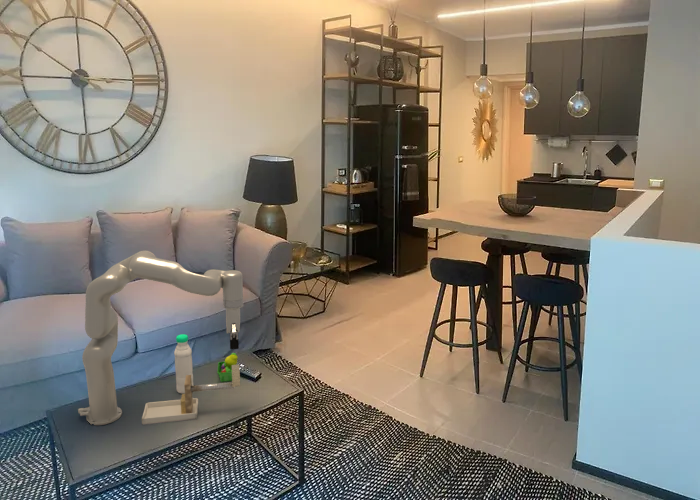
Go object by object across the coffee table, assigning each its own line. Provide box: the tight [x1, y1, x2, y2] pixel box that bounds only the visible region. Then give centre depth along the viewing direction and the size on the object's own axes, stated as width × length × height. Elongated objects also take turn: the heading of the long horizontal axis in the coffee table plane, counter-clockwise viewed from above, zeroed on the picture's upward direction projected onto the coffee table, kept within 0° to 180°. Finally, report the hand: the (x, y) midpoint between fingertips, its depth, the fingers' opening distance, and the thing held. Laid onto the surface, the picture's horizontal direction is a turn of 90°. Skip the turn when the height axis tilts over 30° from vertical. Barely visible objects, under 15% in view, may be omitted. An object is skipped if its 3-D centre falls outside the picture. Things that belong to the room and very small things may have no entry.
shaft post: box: [184, 375, 194, 414], centre depth 211 cm, size 2×8×14 cm, turn 13°
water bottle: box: [173, 333, 194, 394], centre depth 226 cm, size 7×7×25 cm
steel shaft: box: [191, 364, 241, 393], centre depth 211 cm, size 20×3×9 cm, turn 103°
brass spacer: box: [180, 393, 186, 414], centre depth 211 cm, size 2×6×6 cm, turn 12°
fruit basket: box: [216, 352, 239, 383], centre depth 240 cm, size 11×9×11 cm
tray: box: [141, 397, 199, 426], centre depth 210 cm, size 20×12×2 cm, turn 103°
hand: (234, 343), depth 210 cm, fingers open, 9 cm apart
